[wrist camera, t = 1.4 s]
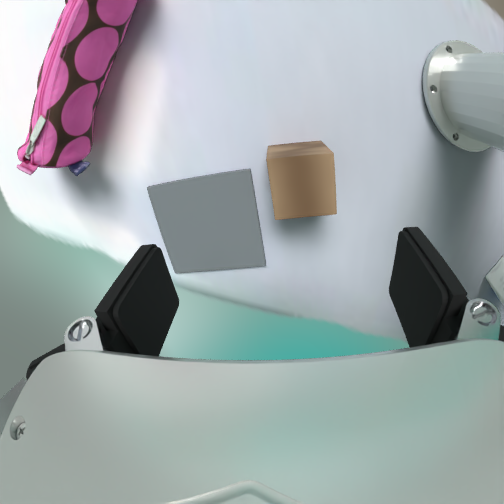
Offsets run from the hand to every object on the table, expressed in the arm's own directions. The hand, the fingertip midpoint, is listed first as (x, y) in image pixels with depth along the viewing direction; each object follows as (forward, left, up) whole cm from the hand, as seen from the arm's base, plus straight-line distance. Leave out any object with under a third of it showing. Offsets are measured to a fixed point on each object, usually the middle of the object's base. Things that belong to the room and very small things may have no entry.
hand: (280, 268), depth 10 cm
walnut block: (-2, +1, -18) cm, 18 cm away
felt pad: (+8, +6, -18) cm, 20 cm away
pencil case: (+16, -15, -18) cm, 28 cm away
